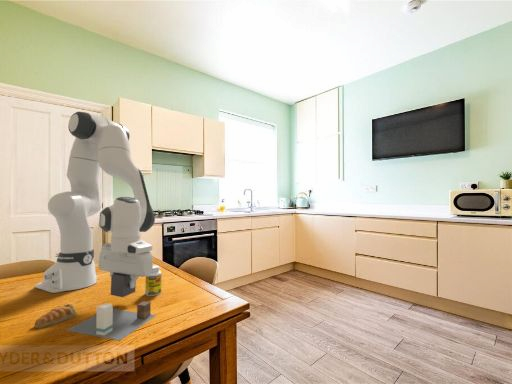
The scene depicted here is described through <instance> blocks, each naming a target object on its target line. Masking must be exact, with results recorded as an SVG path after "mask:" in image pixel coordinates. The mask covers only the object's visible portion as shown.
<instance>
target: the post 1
mask: <svg viewBox="0 0 512 384" xmlns="http://www.w3.org/2000/svg"><path fill="white" fill-rule="evenodd" d="M113 309H114V306H113V303H108V302H107V303H106V302H104V303H103V304H100V305H98V306H96V315H97V316H96V334H98V335H106V334H108V333H109V332H111V331H112V328H113Z"/></svg>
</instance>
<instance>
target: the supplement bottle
mask: <svg viewBox="0 0 512 384" xmlns="http://www.w3.org/2000/svg"><path fill="white" fill-rule="evenodd" d="M162 273H163V272H162V271H161V270H160V265H153V267H152V272H151V273H150V274H149V275H147V276H145V290H144V292H145V296H147V297H154V296H158V295H161V294H162Z"/></svg>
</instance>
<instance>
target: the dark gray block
mask: <svg viewBox="0 0 512 384" xmlns="http://www.w3.org/2000/svg"><path fill="white" fill-rule="evenodd" d="M110 279H111V280H110V296H115V297H119V298H125V297H126V296H129V295H131V294H134V293H135V292H136V285H137V281H136V282H135V287H134V288H128V283H129V282H130V281H131V279H132V278H131V275H128V274H121V273H115V274H112V275H111V276H110Z"/></svg>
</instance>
